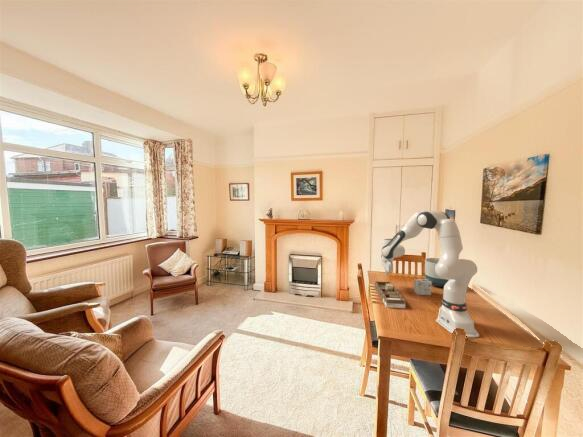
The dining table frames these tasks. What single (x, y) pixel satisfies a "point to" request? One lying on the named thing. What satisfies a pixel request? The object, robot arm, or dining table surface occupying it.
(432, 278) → the planter
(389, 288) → the birch block
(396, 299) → the trap channel
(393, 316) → the dining table surface
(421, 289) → the light bulb box
